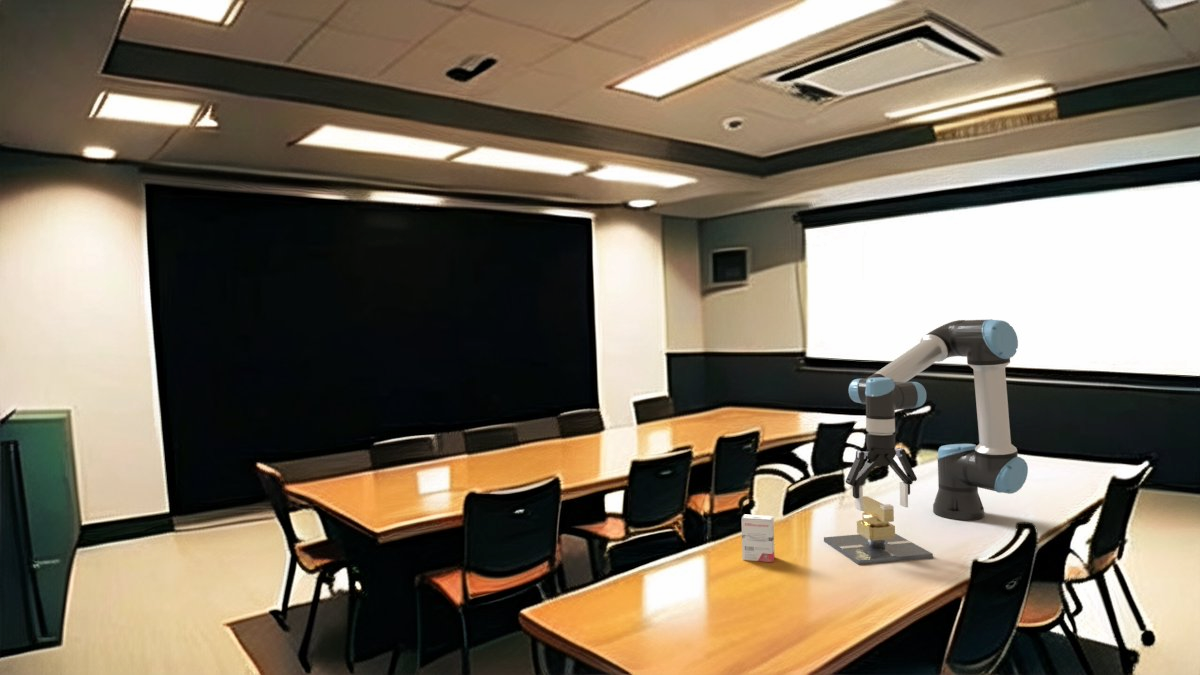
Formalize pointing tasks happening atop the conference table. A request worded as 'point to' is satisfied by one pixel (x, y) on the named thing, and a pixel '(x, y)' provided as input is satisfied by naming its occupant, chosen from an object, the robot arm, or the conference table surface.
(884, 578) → the conference table surface
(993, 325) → the robot arm
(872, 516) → the collar
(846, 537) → the plate
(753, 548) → the ink box
